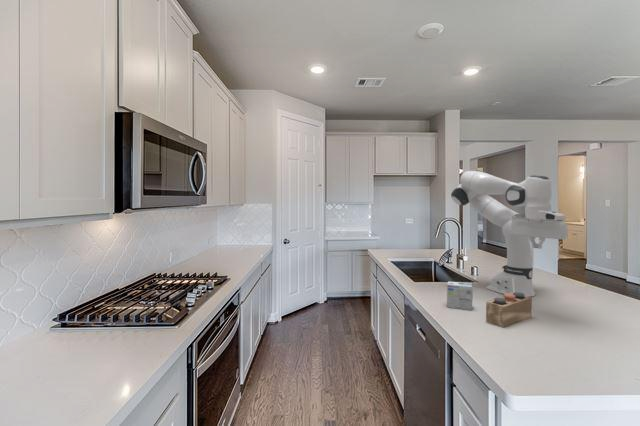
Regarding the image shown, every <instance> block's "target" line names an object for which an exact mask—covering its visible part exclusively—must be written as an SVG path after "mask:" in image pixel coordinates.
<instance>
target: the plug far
mask: <svg viewBox="0 0 640 426" xmlns="http://www.w3.org/2000/svg"><path fill="white" fill-rule="evenodd" d="M513 295H515V298H517V299H521V300H522V299H523V297H524V294H523V293H517V292H515V293H513Z"/></svg>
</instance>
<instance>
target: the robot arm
mask: <svg viewBox="0 0 640 426" xmlns="http://www.w3.org/2000/svg"><path fill="white" fill-rule="evenodd" d="M550 179H551V178H549V177H547V176H545V175H536V174H535V175H534V174H533V175H529V176H527V177H526V178H525V180H523V181H521V182H515V181H510V180H507V179H505V178H501V177H497V176H495V175H492V174H489V173H487V172H484V171H482V170H478V169H477V170H466V171H465V172H463V173H462V174H461V175H460V178H459V182H460V183H459V184H458V185H457V186H456V187H455V188H454V189H453V190H452V192H451V194H450V196H451V199H452V201H453V202H454V203H456V204H457V205H459V206H461V207H463V206H466V205H468V204H469V205H470V206H471V207H472V208H473V210H474V211H476V212H477V213H478V214H479V215H481V216H482V217H483V218H484V219H486V220H488V221H489V222H490V223H491V224H492V225H496V226H497V227H500V228H501V229H502V230H501V231H502V234H503V236H504V240H505V247H506V264H505V265H502V266H501V269H503V271H502V272H500V273H498V274H496V275H494V276H493V277H492V278H491V281H490V284H488V285H486V287H485V288H486V290H489V291H493V292H496V293H499V294H503V295H504V294H513V293H515V292H517V293H523V294H524V296H525V297H529V298H532V297H534V296H535V295H536V294H535V291H534V286H533V285H534V284H533V276H534V271H533V270H534V269H533V267H532V266H533V259H532V258H533V251H532V249H531V248H533V249H542V248H543V244H544V242H545V241H546V239H551V240H555V239H556V240H565V239H568V236H569V235H568V234H569V232H568V231H569V230H568V225H567V222H566V221H565V219H566V215H565V214H564V213H560V212H557V211H554V210H552V205H551V199H552V193H553V192H552V189H553V188H552V181H551V180H550ZM492 195H504V197H505V201H506V202H507V203H508V204H509V205H510V206H512V207H525V209H524V210H525V211H524V213H518V212H516V211H514V210H513V209H511V208H509V207H508V206H505V205H504V204H503V203H501V202H499V200H497V199H495V198H494V197H493V196H492ZM536 238H538V241H539V242H538V243H536V241H535V240H536ZM530 243H531V245H530Z"/></svg>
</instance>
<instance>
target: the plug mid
mask: <svg viewBox="0 0 640 426" xmlns="http://www.w3.org/2000/svg"><path fill="white" fill-rule="evenodd" d="M503 297H505V300H506V301H509V302H514V299H515V295H513V294H503Z"/></svg>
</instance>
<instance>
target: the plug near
mask: <svg viewBox="0 0 640 426" xmlns="http://www.w3.org/2000/svg"><path fill="white" fill-rule="evenodd" d="M493 300H494V301H495V304H499V305H505V303H506V300H505V299H503V298H502V297H494V299H493Z"/></svg>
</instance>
